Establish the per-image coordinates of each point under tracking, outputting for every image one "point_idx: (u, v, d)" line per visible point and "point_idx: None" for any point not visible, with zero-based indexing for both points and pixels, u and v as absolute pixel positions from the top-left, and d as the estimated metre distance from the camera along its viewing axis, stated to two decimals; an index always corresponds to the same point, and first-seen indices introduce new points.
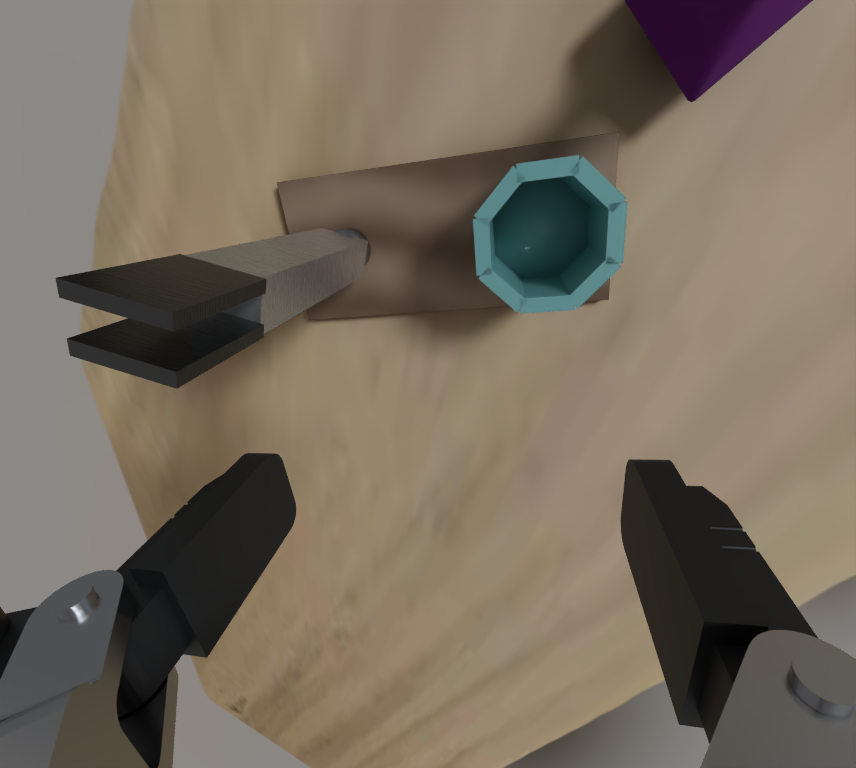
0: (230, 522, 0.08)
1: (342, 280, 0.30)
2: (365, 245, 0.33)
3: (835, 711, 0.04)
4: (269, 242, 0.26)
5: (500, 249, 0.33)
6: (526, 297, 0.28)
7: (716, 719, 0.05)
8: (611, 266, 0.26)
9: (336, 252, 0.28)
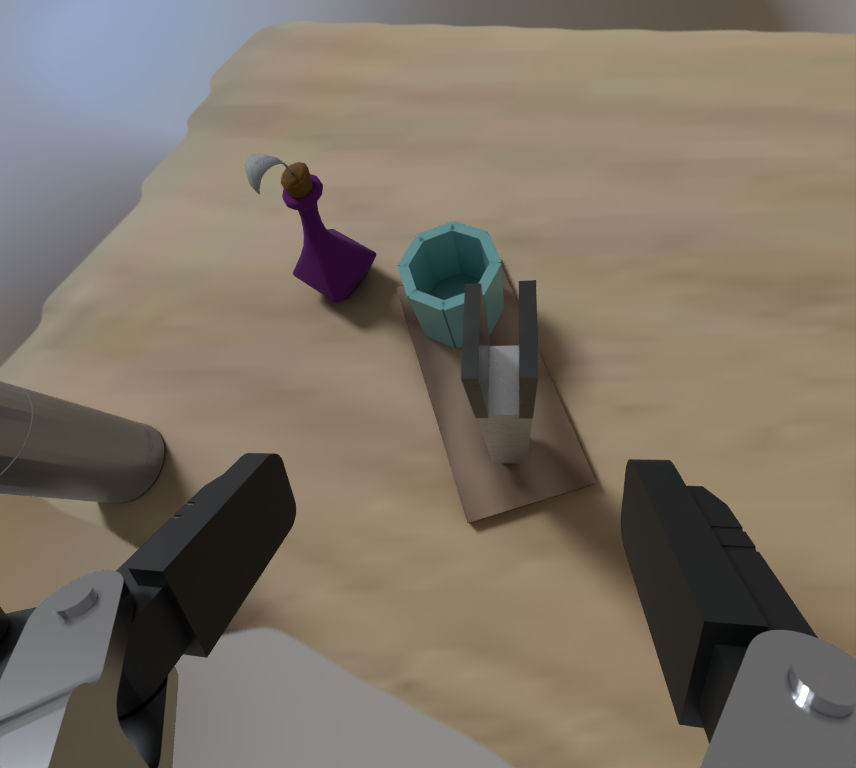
0: (230, 522, 0.08)
1: None
2: None
3: (835, 711, 0.04)
4: None
5: None
6: (489, 263, 0.37)
7: (716, 719, 0.05)
8: (455, 225, 0.39)
9: None
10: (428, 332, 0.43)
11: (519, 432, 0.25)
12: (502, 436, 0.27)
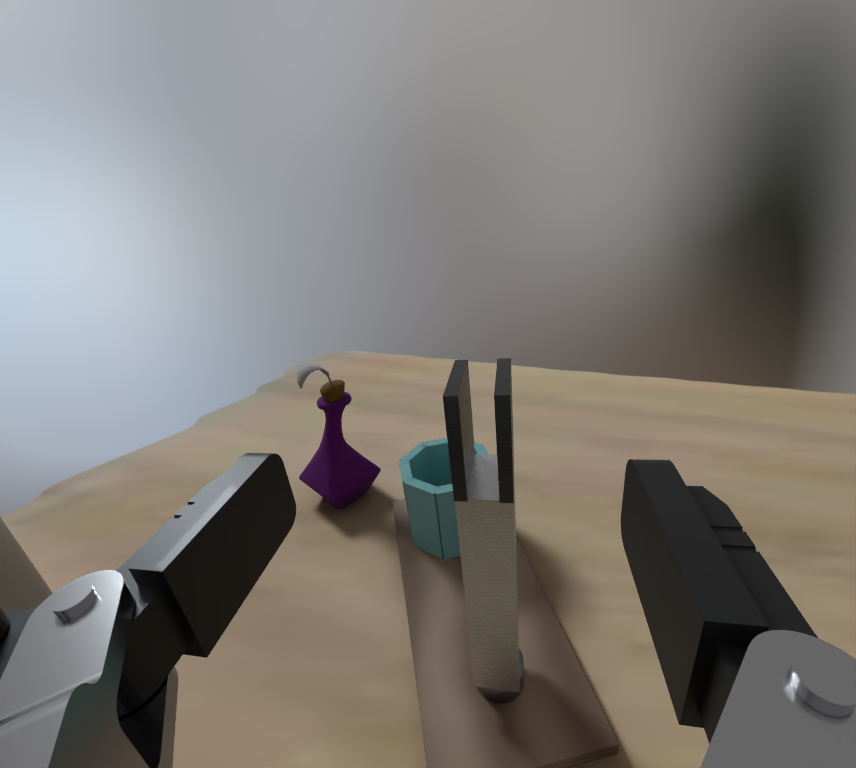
0: (230, 522, 0.08)
1: None
2: None
3: (835, 711, 0.04)
4: None
5: None
6: None
7: (716, 719, 0.05)
8: None
9: None
10: (416, 537, 0.41)
11: (502, 559, 0.22)
12: (484, 573, 0.23)
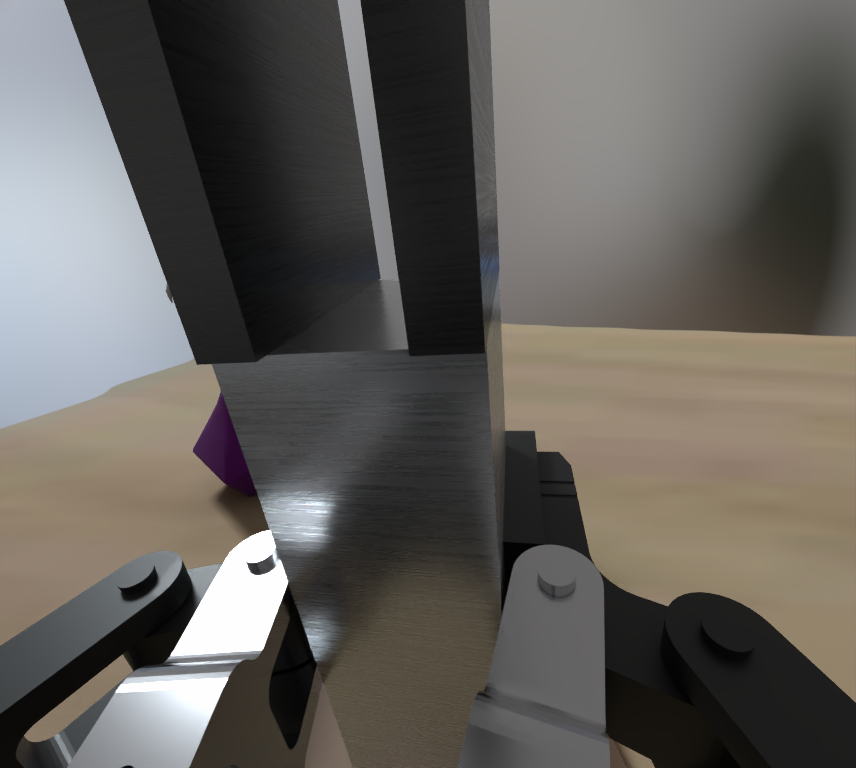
0: None
1: None
2: None
3: (554, 591, 0.05)
4: None
5: None
6: None
7: None
8: None
9: None
10: None
11: (452, 627, 0.06)
12: (390, 671, 0.06)
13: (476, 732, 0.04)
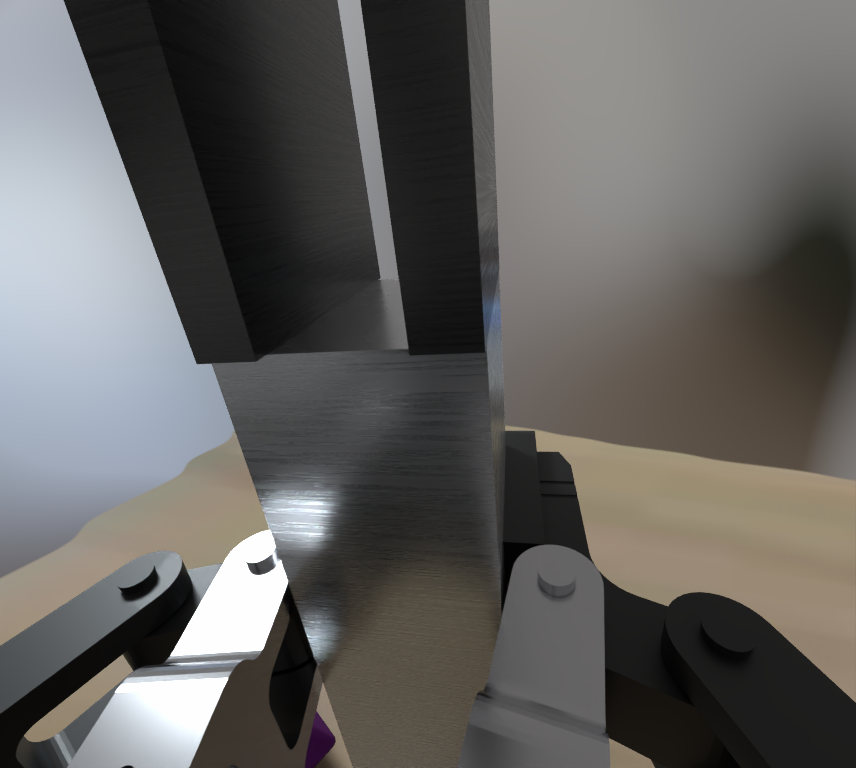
0: None
1: None
2: None
3: (554, 591, 0.05)
4: None
5: None
6: None
7: None
8: None
9: None
10: None
11: (452, 626, 0.06)
12: (390, 670, 0.06)
13: (476, 732, 0.04)
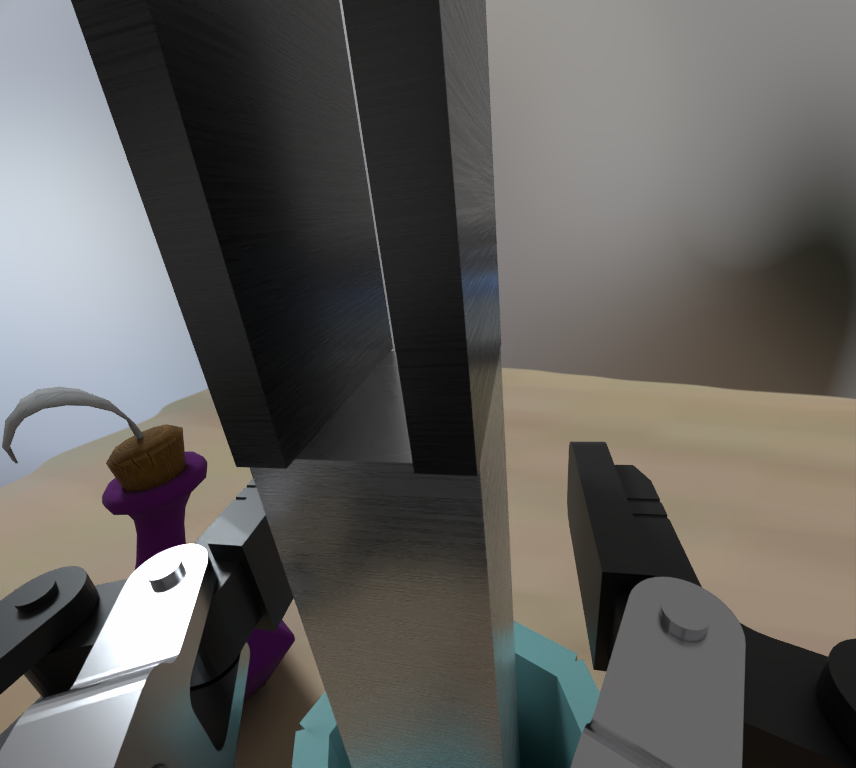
0: None
1: None
2: None
3: (688, 635, 0.05)
4: None
5: None
6: None
7: None
8: None
9: None
10: None
11: (452, 684, 0.06)
12: (397, 717, 0.07)
13: None
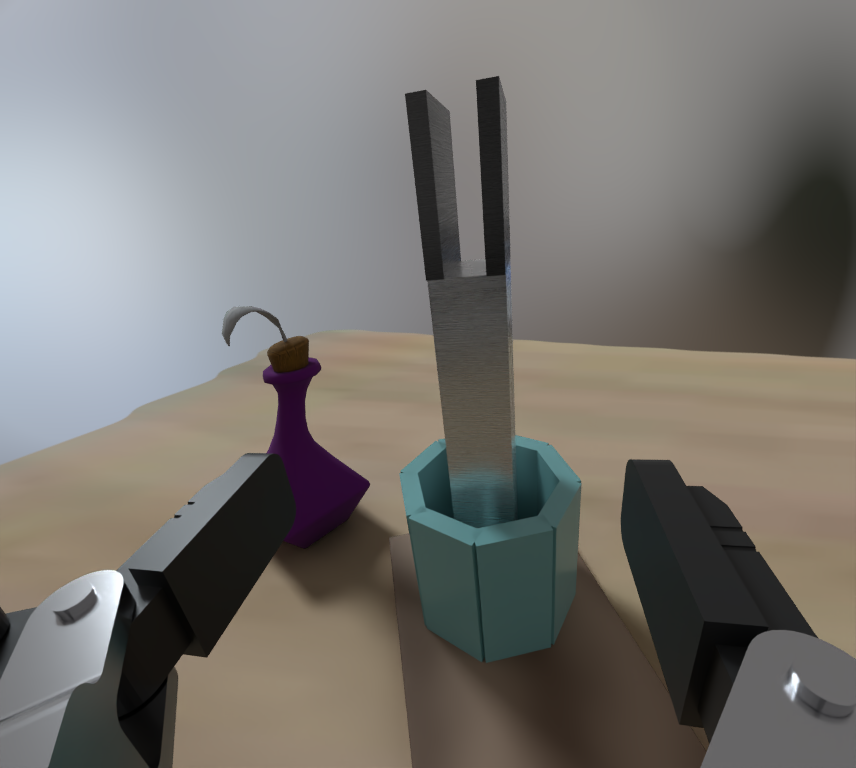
0: (230, 522, 0.08)
1: None
2: None
3: (835, 711, 0.04)
4: None
5: None
6: (558, 483, 0.21)
7: (716, 719, 0.05)
8: None
9: None
10: (432, 616, 0.22)
11: (492, 374, 0.17)
12: (469, 399, 0.18)
13: None
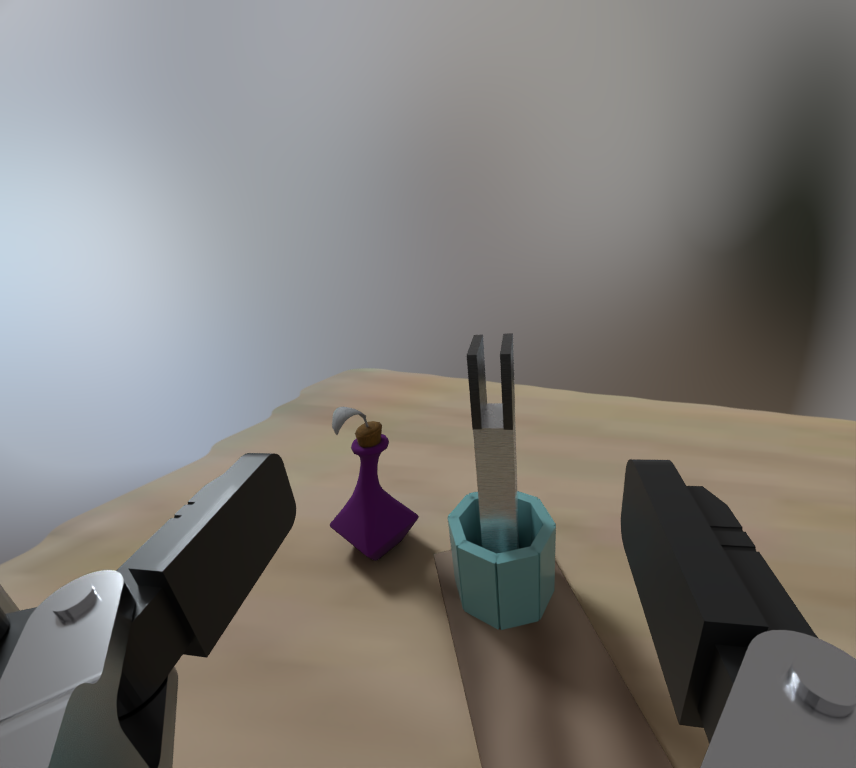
0: (230, 522, 0.08)
1: None
2: None
3: (835, 711, 0.04)
4: None
5: None
6: (542, 525, 0.37)
7: (716, 719, 0.05)
8: None
9: None
10: (468, 603, 0.37)
11: (505, 472, 0.32)
12: (492, 484, 0.33)
13: None
